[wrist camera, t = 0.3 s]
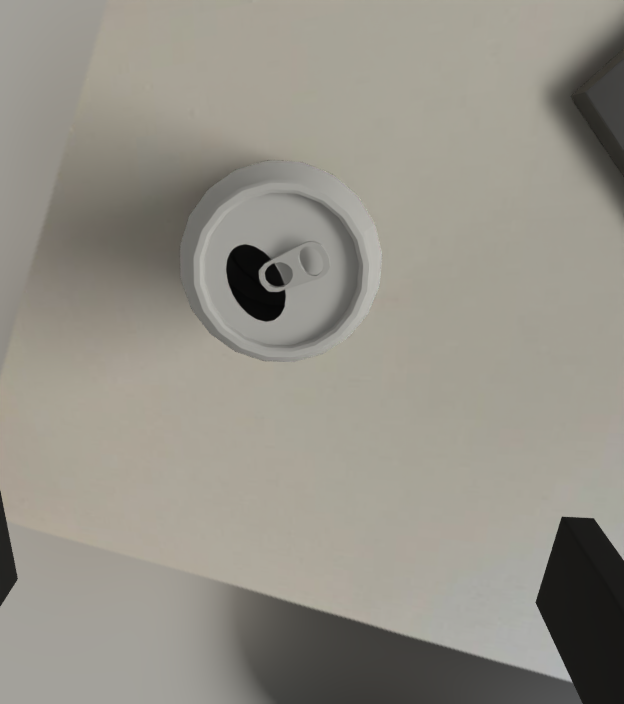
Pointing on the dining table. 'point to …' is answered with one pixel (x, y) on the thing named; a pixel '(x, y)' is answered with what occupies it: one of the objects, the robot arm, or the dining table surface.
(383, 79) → the dining table surface
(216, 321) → the can
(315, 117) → the dining table surface
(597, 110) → the hob
